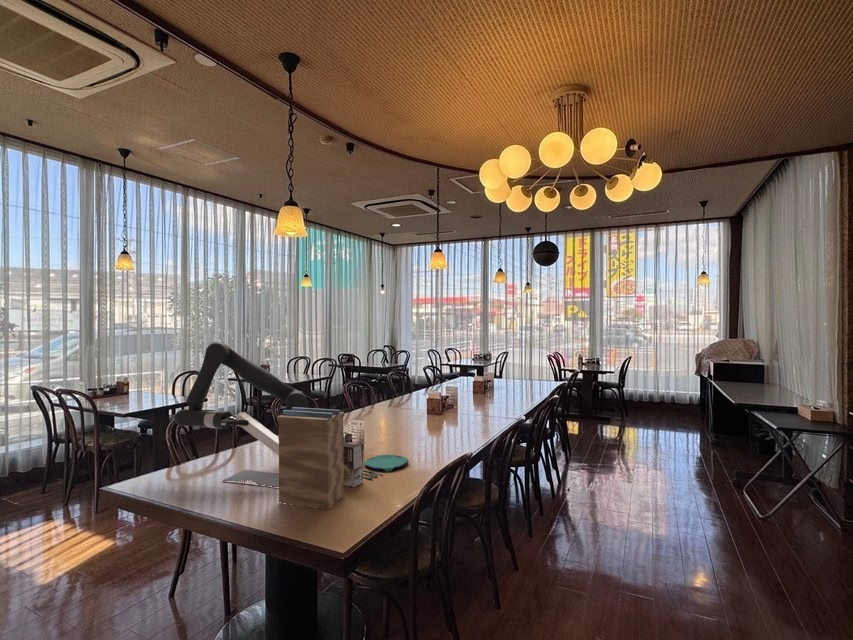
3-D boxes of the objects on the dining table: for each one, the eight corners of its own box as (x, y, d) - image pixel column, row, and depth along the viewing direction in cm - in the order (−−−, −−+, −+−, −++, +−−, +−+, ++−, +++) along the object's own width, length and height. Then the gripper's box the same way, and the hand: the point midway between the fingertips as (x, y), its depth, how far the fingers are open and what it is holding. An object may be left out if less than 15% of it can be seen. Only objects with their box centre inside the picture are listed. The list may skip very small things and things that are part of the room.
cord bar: (240, 419, 194) (244, 411, 194) (285, 453, 188) (289, 445, 187) (234, 421, 190) (238, 413, 190) (279, 456, 184) (284, 448, 183)
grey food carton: (363, 482, 184) (363, 443, 184) (353, 487, 179) (353, 447, 179) (346, 479, 189) (346, 440, 189) (336, 483, 183) (336, 444, 183)
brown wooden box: (298, 490, 176) (298, 405, 176) (344, 496, 170) (344, 408, 170) (277, 504, 162) (277, 412, 162) (326, 511, 157) (326, 415, 157)
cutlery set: (416, 463, 210) (416, 458, 210) (374, 483, 186) (374, 477, 186) (383, 456, 222) (383, 452, 222) (340, 474, 197) (339, 469, 197)
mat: (245, 471, 199) (245, 469, 199) (304, 477, 191) (304, 475, 191) (222, 481, 186) (222, 480, 186) (285, 489, 177) (285, 487, 177)
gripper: (205, 414, 188) (240, 416, 183) (229, 407, 202) (262, 410, 197) (205, 432, 188) (240, 434, 183) (229, 424, 202) (262, 427, 197)
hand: (251, 422), depth 190 cm, fingers closed on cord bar, 4 cm apart
